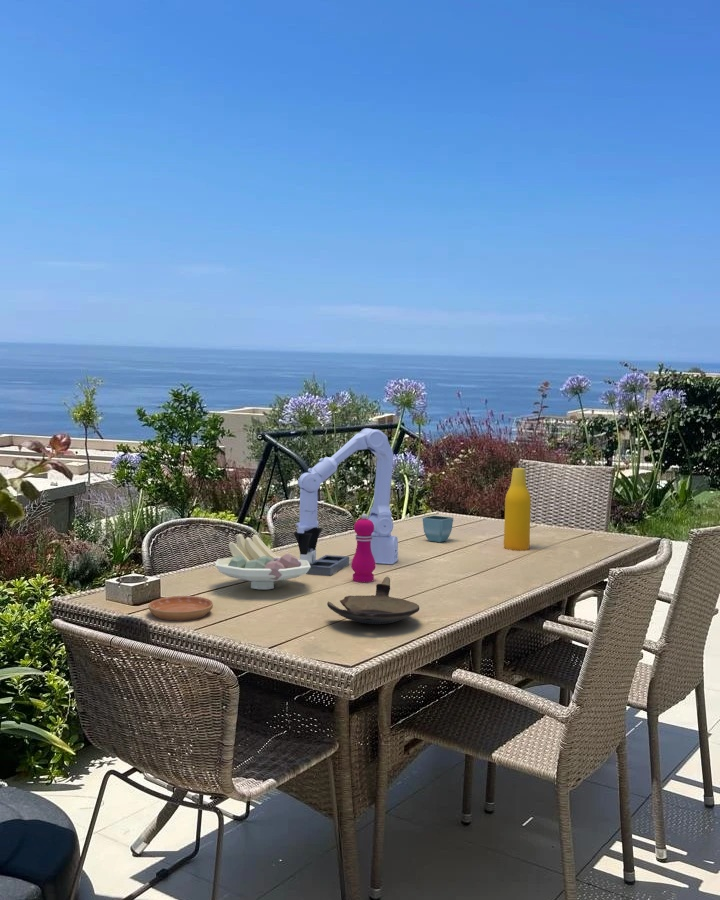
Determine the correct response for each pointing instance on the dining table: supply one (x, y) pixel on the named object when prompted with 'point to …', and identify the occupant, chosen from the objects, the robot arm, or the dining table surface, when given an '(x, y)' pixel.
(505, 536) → the beer bottle
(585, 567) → the dining table surface
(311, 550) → the grey metal block
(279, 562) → the dish with food
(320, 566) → the blue-grey frame board
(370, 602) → the oil lamp
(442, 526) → the flower pot
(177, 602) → the saucer
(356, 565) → the pepper mill
